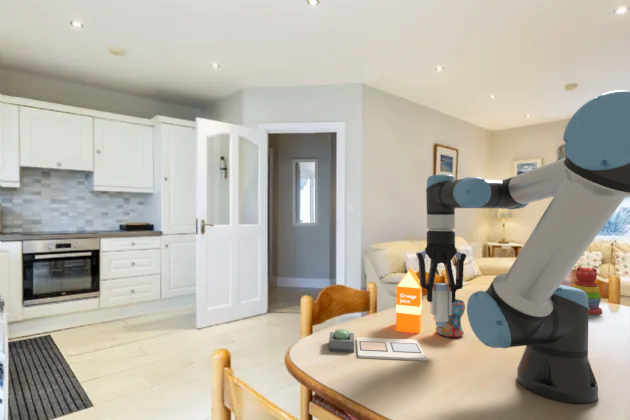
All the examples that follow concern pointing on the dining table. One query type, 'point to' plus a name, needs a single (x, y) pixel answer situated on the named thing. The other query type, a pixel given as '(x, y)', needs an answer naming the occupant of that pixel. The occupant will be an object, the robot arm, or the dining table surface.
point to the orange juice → (409, 303)
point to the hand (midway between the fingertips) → (441, 313)
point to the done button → (342, 334)
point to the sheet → (390, 349)
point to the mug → (453, 321)
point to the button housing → (341, 343)
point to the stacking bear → (589, 288)
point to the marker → (441, 304)
